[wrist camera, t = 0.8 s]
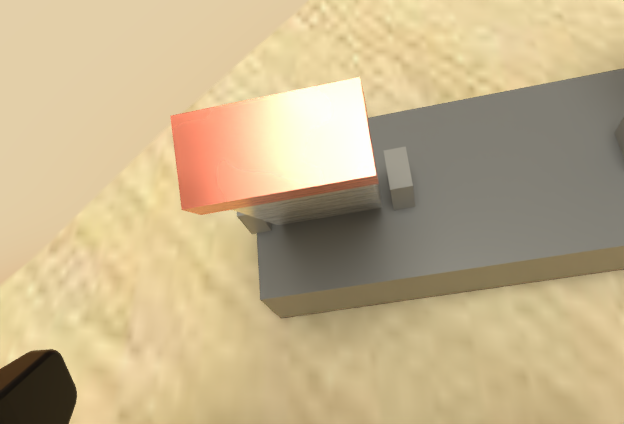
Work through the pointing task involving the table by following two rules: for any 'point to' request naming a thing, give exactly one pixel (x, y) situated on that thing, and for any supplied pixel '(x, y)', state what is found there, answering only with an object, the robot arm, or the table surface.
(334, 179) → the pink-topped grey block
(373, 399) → the table surface
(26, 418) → the robot arm
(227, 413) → the table surface
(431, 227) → the switch box
